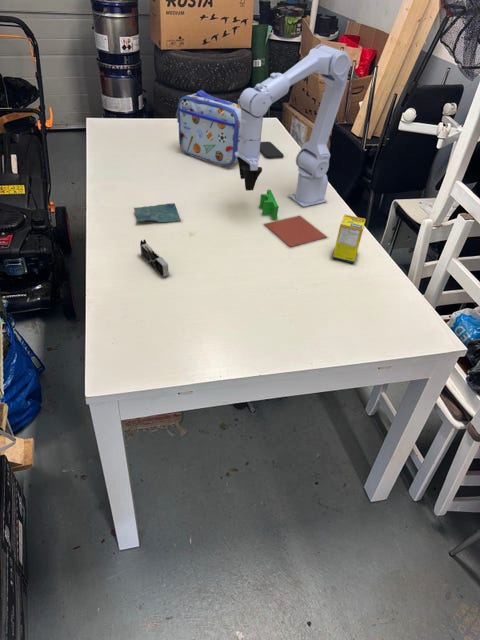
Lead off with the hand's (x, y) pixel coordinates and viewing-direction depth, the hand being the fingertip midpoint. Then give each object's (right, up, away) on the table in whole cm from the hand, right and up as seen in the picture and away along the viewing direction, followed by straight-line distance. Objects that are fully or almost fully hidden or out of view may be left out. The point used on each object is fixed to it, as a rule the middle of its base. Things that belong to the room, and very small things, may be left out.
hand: (246, 184), depth 135 cm
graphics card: (-24, -26, -17) cm, 39 cm away
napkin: (+14, -14, +1) cm, 20 cm away
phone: (+9, +27, +46) cm, 54 cm away
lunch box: (-13, +21, +37) cm, 45 cm away
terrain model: (-27, -10, +1) cm, 28 cm away
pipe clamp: (+7, -6, +9) cm, 13 cm away
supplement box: (+27, -22, -7) cm, 36 cm away
